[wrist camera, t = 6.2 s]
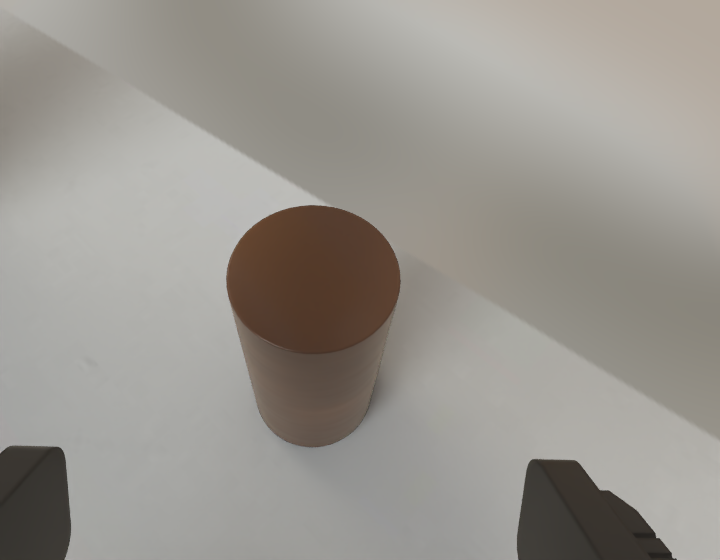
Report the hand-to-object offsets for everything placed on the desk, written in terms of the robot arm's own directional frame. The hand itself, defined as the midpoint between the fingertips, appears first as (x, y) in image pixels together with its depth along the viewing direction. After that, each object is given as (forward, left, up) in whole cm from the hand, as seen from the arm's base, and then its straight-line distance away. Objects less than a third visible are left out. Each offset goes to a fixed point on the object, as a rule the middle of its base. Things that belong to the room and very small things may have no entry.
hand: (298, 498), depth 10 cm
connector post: (-1, +6, -11) cm, 13 cm away
